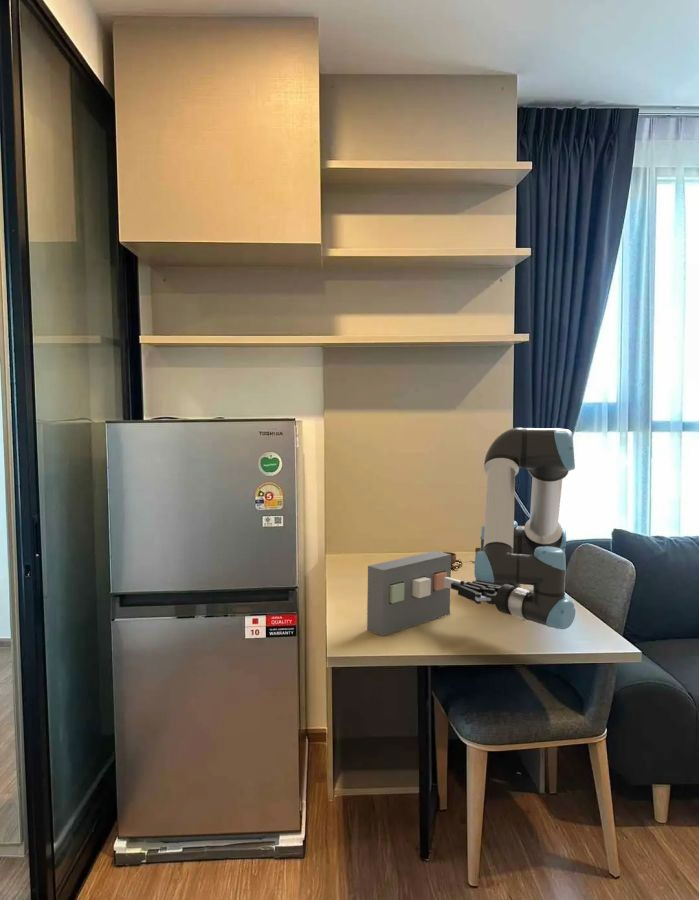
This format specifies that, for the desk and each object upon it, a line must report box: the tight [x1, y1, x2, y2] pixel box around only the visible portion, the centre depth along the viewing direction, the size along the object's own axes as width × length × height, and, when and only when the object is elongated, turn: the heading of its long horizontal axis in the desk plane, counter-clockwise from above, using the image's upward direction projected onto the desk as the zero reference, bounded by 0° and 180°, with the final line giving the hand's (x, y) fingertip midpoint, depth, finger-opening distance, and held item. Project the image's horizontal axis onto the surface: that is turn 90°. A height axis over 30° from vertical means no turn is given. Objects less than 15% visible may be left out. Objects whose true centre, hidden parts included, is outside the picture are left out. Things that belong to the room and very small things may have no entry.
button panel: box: [366, 550, 452, 637], centre depth 189 cm, size 28×6×18 cm, turn 132°
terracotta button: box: [433, 571, 447, 591], centre depth 194 cm, size 5×6×5 cm
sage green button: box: [389, 582, 404, 603], centre depth 182 cm, size 5×6×5 cm
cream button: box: [412, 576, 431, 598], centre depth 186 cm, size 5×6×5 cm
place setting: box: [441, 547, 481, 571], centre depth 255 cm, size 18×20×6 cm
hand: (445, 582), depth 190 cm, fingers closed
